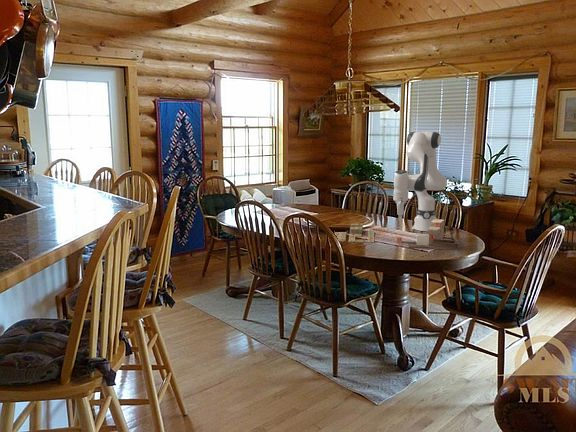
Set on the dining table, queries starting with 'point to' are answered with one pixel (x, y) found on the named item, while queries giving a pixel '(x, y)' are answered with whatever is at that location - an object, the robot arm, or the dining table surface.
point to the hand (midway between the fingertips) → (400, 219)
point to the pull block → (417, 240)
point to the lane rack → (438, 245)
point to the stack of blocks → (436, 230)
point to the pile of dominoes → (355, 234)
